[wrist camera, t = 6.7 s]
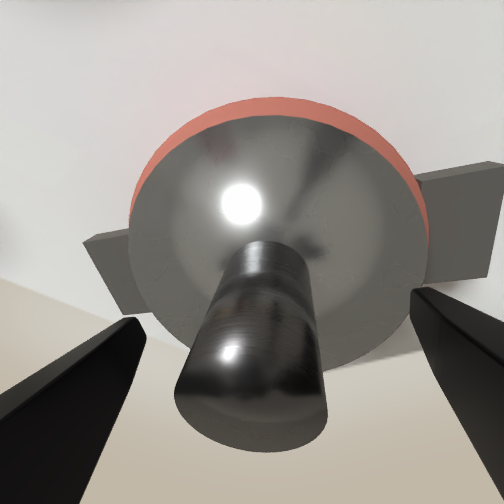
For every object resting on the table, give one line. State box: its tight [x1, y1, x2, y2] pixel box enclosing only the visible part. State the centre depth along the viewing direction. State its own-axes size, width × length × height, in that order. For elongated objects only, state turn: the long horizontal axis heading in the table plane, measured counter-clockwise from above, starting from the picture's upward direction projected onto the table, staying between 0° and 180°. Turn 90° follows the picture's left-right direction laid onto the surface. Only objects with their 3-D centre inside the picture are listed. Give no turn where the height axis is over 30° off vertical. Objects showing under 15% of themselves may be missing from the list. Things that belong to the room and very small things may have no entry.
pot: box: [83, 97, 504, 315], centre depth 13 cm, size 17×12×5 cm
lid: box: [128, 115, 428, 452], centre depth 8 cm, size 11×11×6 cm
